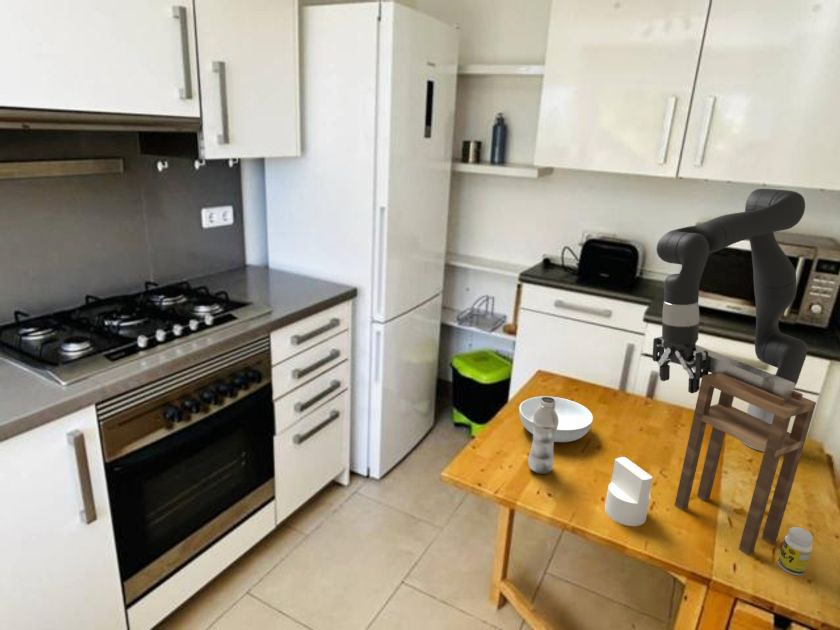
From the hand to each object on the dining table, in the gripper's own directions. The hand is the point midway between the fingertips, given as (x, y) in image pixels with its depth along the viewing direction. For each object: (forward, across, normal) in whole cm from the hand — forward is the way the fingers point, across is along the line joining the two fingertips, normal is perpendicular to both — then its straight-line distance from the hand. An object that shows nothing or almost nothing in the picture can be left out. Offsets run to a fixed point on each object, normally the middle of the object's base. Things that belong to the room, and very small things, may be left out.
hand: (678, 385), depth 129 cm
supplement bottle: (+30, -28, -2) cm, 42 cm away
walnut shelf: (+29, -14, 0) cm, 32 cm away
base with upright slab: (+26, -4, +19) cm, 32 cm away
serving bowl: (+23, +32, +14) cm, 42 cm away
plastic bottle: (+23, +17, +28) cm, 40 cm away
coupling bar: (-5, -10, -4) cm, 11 cm away
